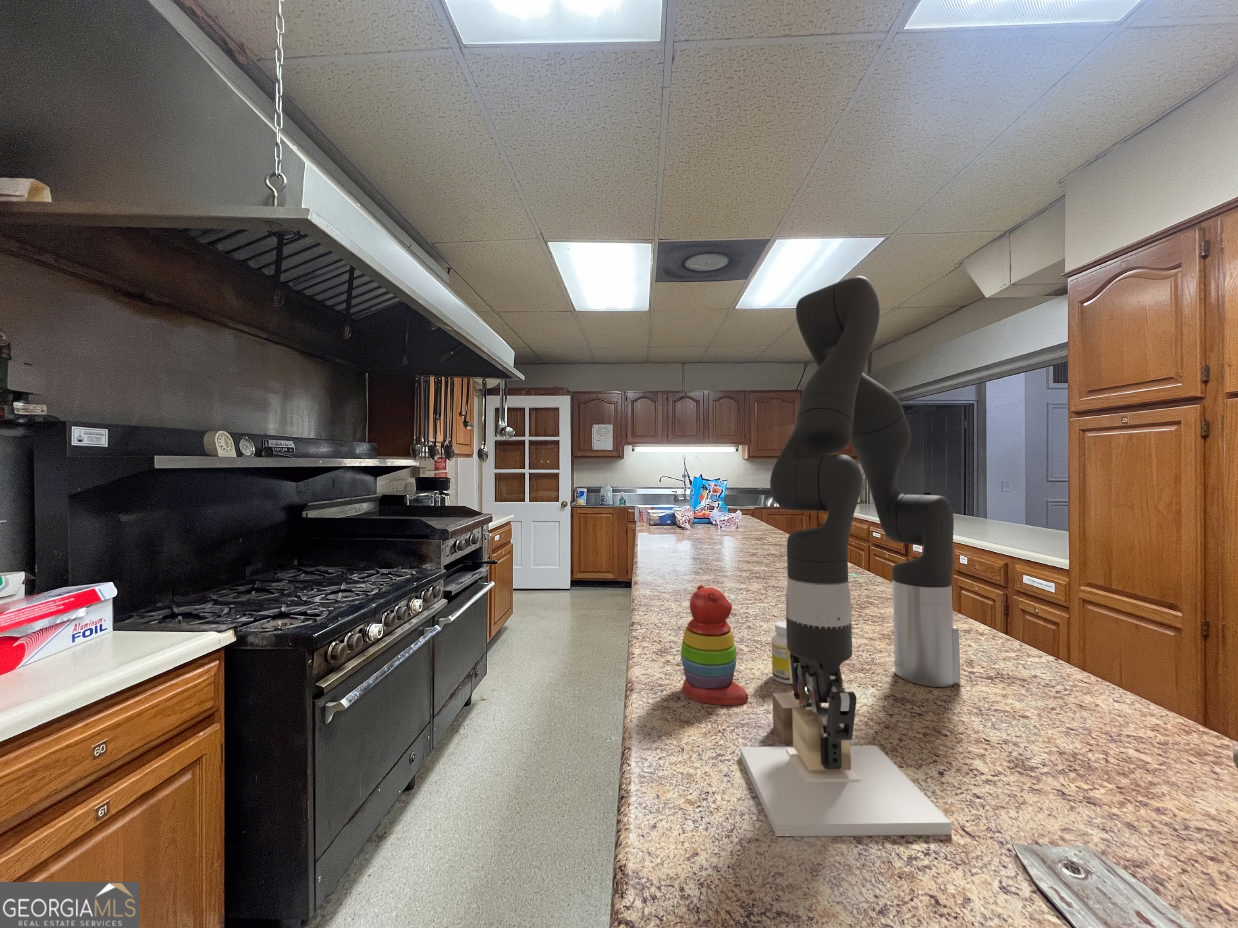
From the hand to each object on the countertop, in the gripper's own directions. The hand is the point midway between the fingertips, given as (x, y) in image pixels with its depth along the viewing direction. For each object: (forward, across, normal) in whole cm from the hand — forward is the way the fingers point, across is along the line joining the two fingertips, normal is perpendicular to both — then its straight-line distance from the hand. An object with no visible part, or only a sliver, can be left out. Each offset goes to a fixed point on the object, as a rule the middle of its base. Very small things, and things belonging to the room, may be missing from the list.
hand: (821, 753), depth 58 cm
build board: (+3, -3, 0) cm, 4 cm away
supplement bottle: (+3, +28, -6) cm, 29 cm away
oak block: (+1, 0, 0) cm, 1 cm away
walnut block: (+3, +9, 0) cm, 9 cm away
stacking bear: (+3, +23, +9) cm, 25 cm away
